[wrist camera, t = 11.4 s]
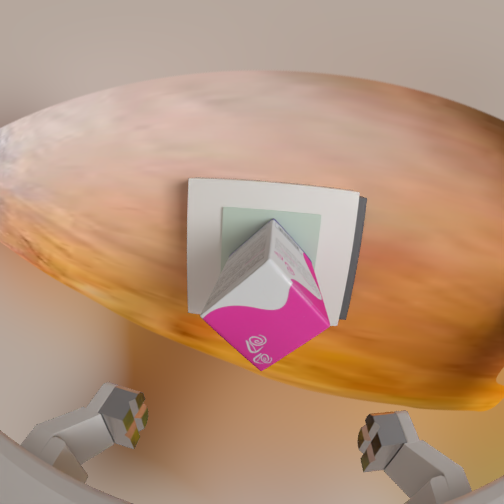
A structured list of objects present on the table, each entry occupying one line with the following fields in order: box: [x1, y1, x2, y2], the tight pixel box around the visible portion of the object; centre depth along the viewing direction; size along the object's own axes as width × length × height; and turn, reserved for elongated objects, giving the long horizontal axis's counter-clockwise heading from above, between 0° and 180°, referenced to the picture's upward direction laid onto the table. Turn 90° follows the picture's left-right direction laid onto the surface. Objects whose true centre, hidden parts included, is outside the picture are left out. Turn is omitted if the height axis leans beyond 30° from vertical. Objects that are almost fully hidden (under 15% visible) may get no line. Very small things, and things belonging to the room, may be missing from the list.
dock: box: [187, 177, 367, 326], centre depth 28 cm, size 17×14×3 cm
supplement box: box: [200, 218, 330, 371], centre depth 21 cm, size 6×6×12 cm
